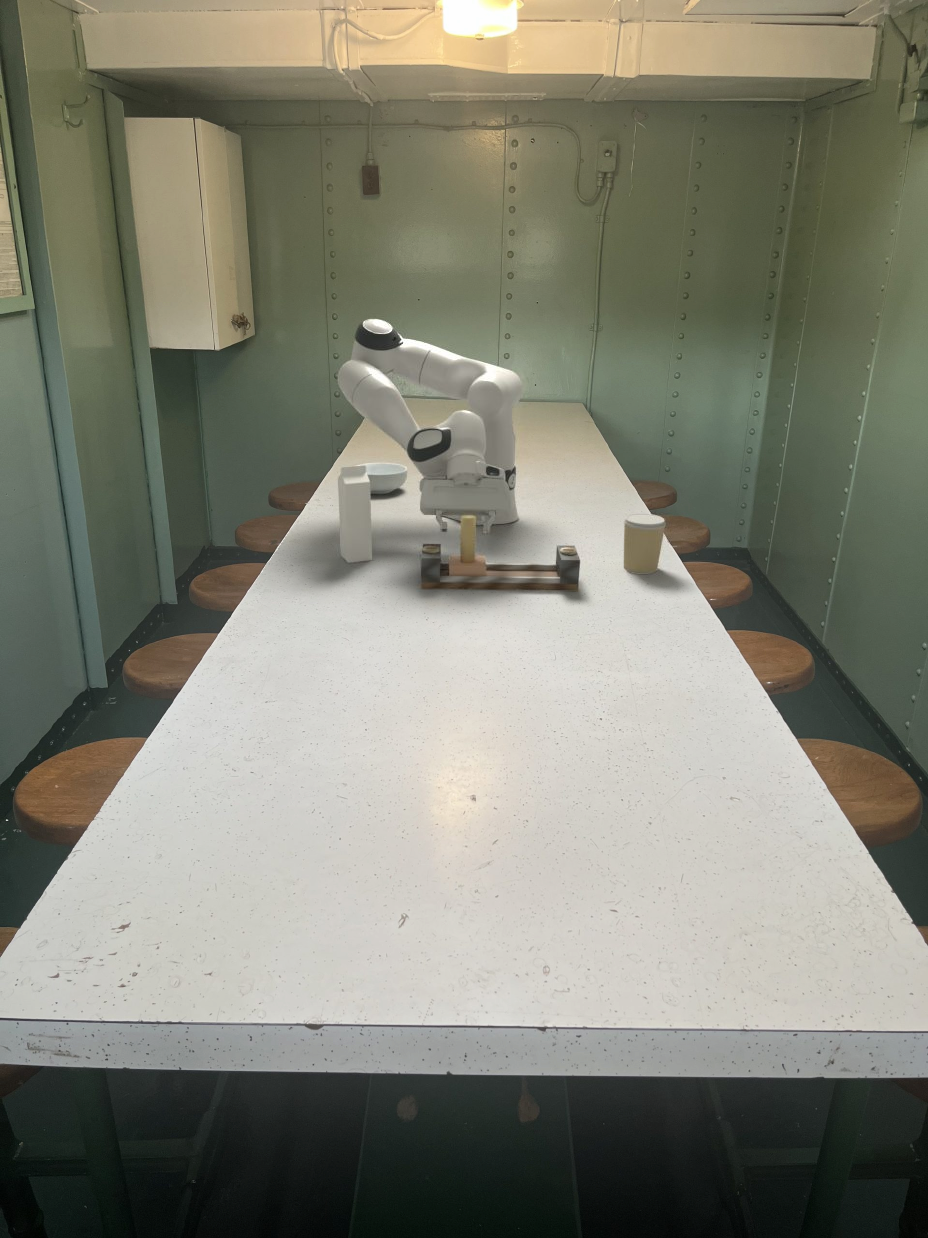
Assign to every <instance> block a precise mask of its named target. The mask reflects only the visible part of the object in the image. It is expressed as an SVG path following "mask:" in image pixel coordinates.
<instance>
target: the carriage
mask: <svg viewBox="0 0 928 1238" xmlns="http://www.w3.org/2000/svg"><path fill="white" fill-rule="evenodd" d="M476 526H477V525H476V517H475V516H473V515H463V516H461V521H460V549H459V550H460V555H449V559H448V560H449V562H448V563H449V576H486V563H487V559H486V555H476V530H477V529H476Z"/></svg>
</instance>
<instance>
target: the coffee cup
mask: <svg viewBox="0 0 928 1238" xmlns="http://www.w3.org/2000/svg"><path fill="white" fill-rule="evenodd" d="M623 524H624V527H623V528H624V529H623V530H624V531H623V532H624V533H623V569H624V570H625V571H627V572H629V573H633V574H638V575H649V574H653V573H656V572H657V571H658V567H659V561H660V555H661V552H662V551H661V550H662V545H663V540H664V539H663V538H664V533H665V527H666V524H667V523H666V520H665V518H663V517H662V516H660V515H656V514H652V513H631V514H629V515H627V516H625V518H624V519H623Z"/></svg>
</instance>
